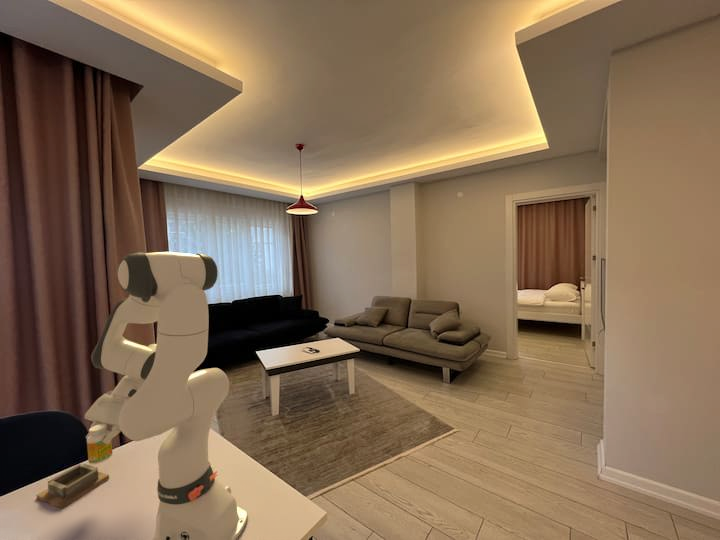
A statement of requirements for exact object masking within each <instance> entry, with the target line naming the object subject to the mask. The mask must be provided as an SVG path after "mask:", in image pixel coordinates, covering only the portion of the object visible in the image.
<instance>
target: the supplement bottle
mask: <svg viewBox="0 0 720 540" xmlns="http://www.w3.org/2000/svg"><path fill="white" fill-rule="evenodd" d="M90 427H91V426H90ZM110 432H111V430H109V429H108V425H107V424H98V425H95V426H93V427H91V428H89V429H88V433H89V435H90V436H89V437H88V438H87V439H86V446H87V447H86V449H87V460H88V464H90V465H98V464H101V463H103V462H106V461H108V460H109V459H110V458H111V457H112V456H113V444H112V440H111V441H110V443H109V444H106V443H102V442H101V440H102V439H103V437H104V436H105V435H106V436H107V435H108V434H109V433H110Z"/></svg>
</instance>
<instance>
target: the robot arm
mask: <svg viewBox="0 0 720 540" xmlns="http://www.w3.org/2000/svg"><path fill="white" fill-rule="evenodd" d="M119 263H120V264H119V267H118V270H117V278H118V279H117V280H118V282H119V284H120V286H121V289H122V290H123V291H125V292H126V293H127V294H129V295H128V297H127V298H122V299H121V300H120V301H118V302H117V303H116V304H115V306H114V307H113V308H112V310H111V312H110V314H109V316H108V318H107V321H106V322H105V326H104V328H103V331H102V333H101V336H100V338H99V340H98V341H97V344H96V345H95V347H94V349H93V350H92V353H91V355H90V359H91V363H92V365H93V367H94V368H95V369H101V370H105V371H110V372H114V373H117V374H119V375H123V377H122V378H121V379H120V380H119V382H118V383H117V385H116V386H115V388H114V389H113V390H109V391H107V392H106V393H104V394H103V395H100V397H98V398H97V399H96V400H95V401H94V402H93V404H92V405H91V406H90V408H89V409H88V410H87V411H86V413H85V414H84V419H85V420H88V421H91V422H92V423H91V424H90V428H91V427H93V426H95V425H98V424H107V426H112V427H111V430H110V433H109V434H108V435H107V436H106V435H105V436H104V437H103V439H102V440H101V442H102V443H106V444H109V443H110V441H111V442H112V440H113V438H114V437H116V436H117V435H119V434H121V432H122V435H124V437H126V438H127V439H129V440H131V441H134V442H140V441H144V440H148V439H151V438H153V437H156V436H160V435H162V434H164V433H166V432H168V431H170V430H172V431H171V432H170V433H169V434H168V436H166V438H165V439H164V440H163V441H162V443H161V445H160V447H159V450H158V453H157V461H158V462H157V464H158V477H159V478H158V480H157V488H156V489H157V490H156V492H157V495H158V499H159V505H158V507H157V508H158V509H157V514H156V518H155V534H154V540H237V539H238V537H239V536H240V535H241V533H242V531H243V530H244V528H245V526H246V524H247V521H248V516H249V515H248V512H247V511H246V510H244V509H242V508H241V507H239V506H238V505H237V500H236V499H235V496H234V495H232V490H231V487H230V486H228V485H227V486H223V485H222V483H220V482H219V481H218V479H216V477H217V476H218V474H217V473H218V471H214V469H213V467H212V465H211V463H210V461H209V435H210V430H211V427H212V423H213V421H214V419H215V416H216V414H217V412H218V410H219V407H220V406H221V404H222V403H223V402H224V400H226V398H227V396H228V394H229V392H230V381H229V377H228V375H227V373H225V372H224V370H222V369H220V368H218V367H211V368H204V369H203V368H202V369H199V370H197V368H198V367H200V365H201V364H202V363H203V362H204V361H205V358H206V356H207V354H208V346H209V345H208V343H209V321H210V320H209V318H210V316H209V315H210V314H209V305H208V303H209V302H208V299H207V298H208V297H207V293H206V292H205V291H208V290H210V289H212V288H213V287H214V285H215V284H216V283H217V280H218V274H219V273H218V266H217V264H216V262H215V260H214V259H213V257H211V256H209V255H207V254H202V253H196V254H193V253H185V252H174V251H155V252H143V251H139V252H135V253H134V252H133V253H128V254H126V255H125V256H123V258H121V261H120V262H119ZM156 322H157V327H156V343H152V344H151V343H150V344H148V345H143V344H140V343H138V342H134V341H131V340H129V339H126V338H125V337H124V336H123V335H124V332H125V331H126V328H127V325H128V324H140V325H142V324H143V325H144V324H145V325H146V324H151V323H156ZM195 370H196V371H195ZM90 428H89V429H90ZM89 436H90V435H89V432H88V433H87V434H86V436H85V439H86V440H87V438H88V437H89Z"/></svg>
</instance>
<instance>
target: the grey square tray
mask: <svg viewBox="0 0 720 540" xmlns="http://www.w3.org/2000/svg"><path fill="white" fill-rule="evenodd" d="M109 479H110V474H106V473H103V472H101V471H99V470H98V467H97V466H93V465H91V464H90V465H89V464H87V463H82V464H80V463H79V464H77V465H75V466H74V467H71V468H70V469H67V470H66V471H64V472H63V473H60V474H58V475H57V476H55V477H53V478H51V479H50V480H48V481H47V489H45V490H43V491H42V492H39V493H38V494H36V499H37V500H39V501H42V502H45V503H47V504H49V505H52V506H54V507H58V508H60V509H64V508H65V507H67V506H68V505H70V504H72V503H73V502H75V501H76V500H78V499H79V498H81V497H82V496H84V495H86V494H88V492H90V491H92V490H93V489H95V488H97V487H98V486H100V485H101V484H103V483H104V482H106V481H107V480H109ZM102 482H103V483H102Z"/></svg>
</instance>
